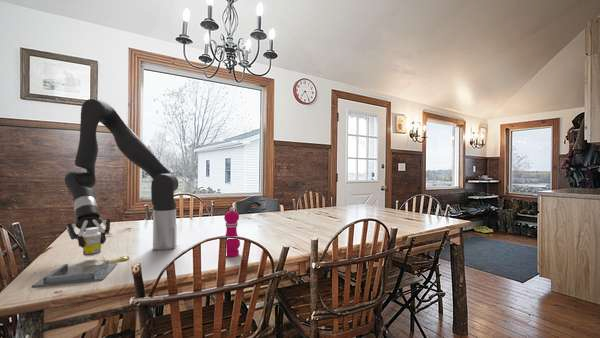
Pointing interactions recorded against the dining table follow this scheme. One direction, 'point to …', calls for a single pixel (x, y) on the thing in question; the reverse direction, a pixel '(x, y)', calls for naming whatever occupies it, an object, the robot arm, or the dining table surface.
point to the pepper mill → (232, 232)
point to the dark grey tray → (76, 274)
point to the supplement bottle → (92, 242)
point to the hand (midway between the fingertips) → (93, 244)
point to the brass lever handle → (119, 259)
